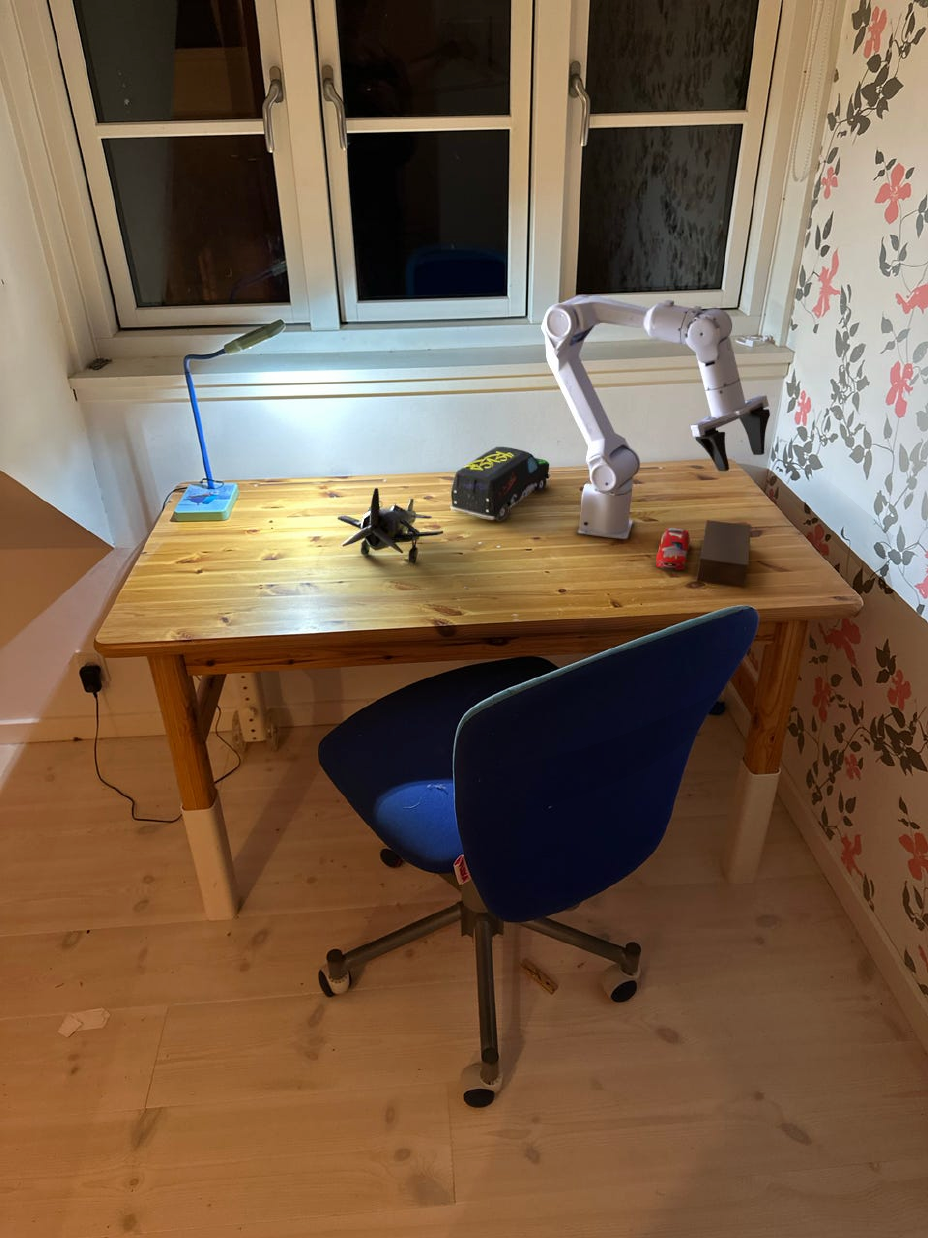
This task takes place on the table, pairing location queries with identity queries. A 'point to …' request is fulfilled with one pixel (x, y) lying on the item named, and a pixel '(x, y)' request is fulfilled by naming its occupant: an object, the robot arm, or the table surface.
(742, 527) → the step block
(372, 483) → the table surface
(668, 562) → the race car
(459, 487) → the toy van
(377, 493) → the airplane toy
